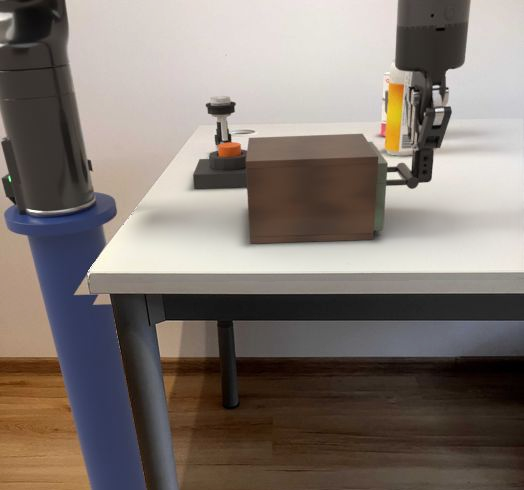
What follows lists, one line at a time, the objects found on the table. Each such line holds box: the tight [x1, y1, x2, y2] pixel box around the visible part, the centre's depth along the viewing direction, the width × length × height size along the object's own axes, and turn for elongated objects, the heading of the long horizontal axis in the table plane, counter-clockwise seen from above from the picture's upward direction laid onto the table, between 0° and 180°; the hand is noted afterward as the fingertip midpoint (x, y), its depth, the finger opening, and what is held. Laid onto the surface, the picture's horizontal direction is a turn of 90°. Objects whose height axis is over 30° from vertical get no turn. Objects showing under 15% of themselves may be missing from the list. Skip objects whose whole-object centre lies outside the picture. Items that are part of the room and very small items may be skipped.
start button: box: [218, 141, 242, 157], centre depth 93 cm, size 4×4×2 cm
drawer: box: [368, 141, 420, 231], centre depth 73 cm, size 18×11×8 cm, turn 90°
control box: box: [192, 148, 247, 190], centre depth 94 cm, size 11×10×4 cm
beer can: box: [384, 59, 414, 157], centre depth 103 cm, size 6×6×15 cm
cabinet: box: [246, 133, 378, 245], centre depth 73 cm, size 15×13×10 cm
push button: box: [205, 95, 237, 152], centre depth 107 cm, size 7×5×10 cm
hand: (421, 180), depth 73 cm, fingers closed
